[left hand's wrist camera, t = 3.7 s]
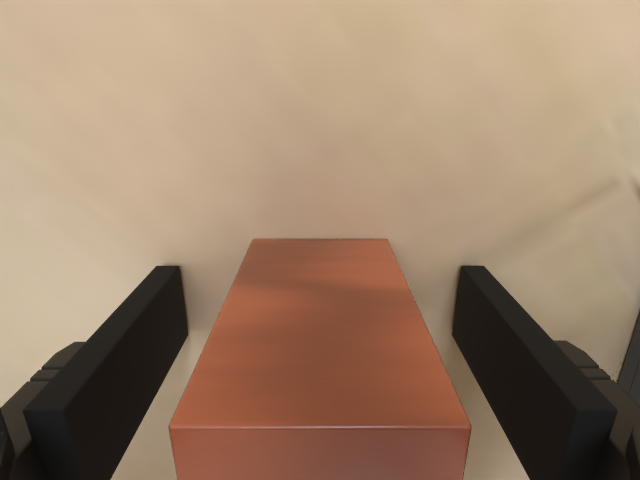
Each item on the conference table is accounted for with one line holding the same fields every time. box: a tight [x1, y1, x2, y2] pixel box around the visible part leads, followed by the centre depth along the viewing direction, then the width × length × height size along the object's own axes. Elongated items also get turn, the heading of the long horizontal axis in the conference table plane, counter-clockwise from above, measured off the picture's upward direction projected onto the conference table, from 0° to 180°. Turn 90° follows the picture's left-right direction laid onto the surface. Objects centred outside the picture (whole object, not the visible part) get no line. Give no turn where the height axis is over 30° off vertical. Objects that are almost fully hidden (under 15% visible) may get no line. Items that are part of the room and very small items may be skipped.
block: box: [169, 239, 471, 480], centre depth 10 cm, size 4×4×8 cm
